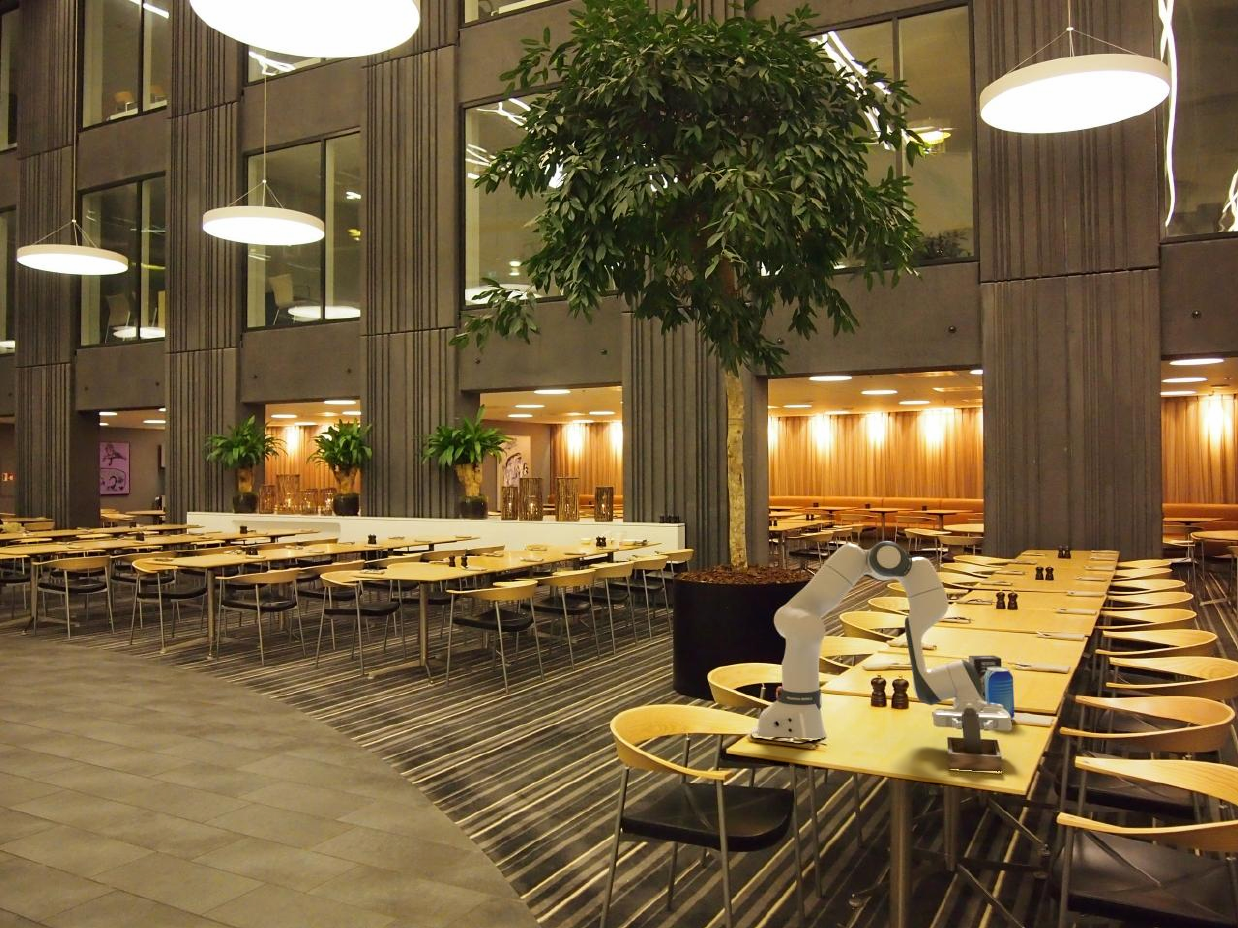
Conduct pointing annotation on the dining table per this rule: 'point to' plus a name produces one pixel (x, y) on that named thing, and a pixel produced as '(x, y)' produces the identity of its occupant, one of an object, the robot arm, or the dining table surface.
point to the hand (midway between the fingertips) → (972, 726)
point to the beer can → (1000, 688)
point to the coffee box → (984, 667)
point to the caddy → (974, 756)
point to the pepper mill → (971, 731)
